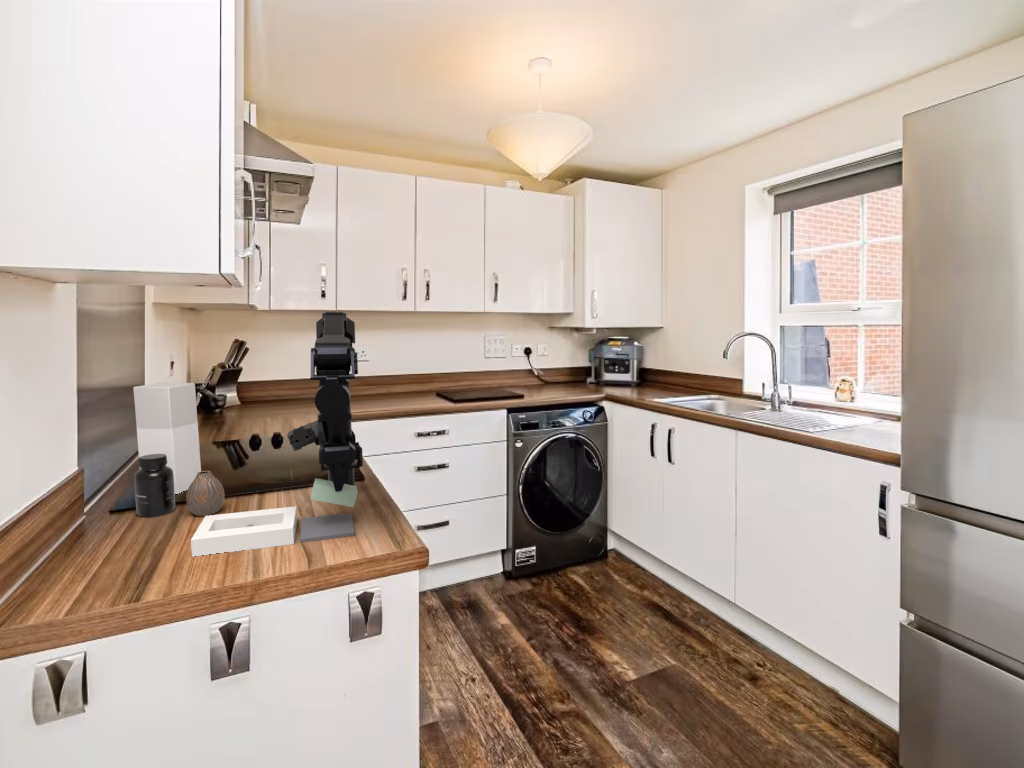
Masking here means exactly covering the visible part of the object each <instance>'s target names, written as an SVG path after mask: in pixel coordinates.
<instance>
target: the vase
mask: <svg viewBox="0 0 1024 768" xmlns="http://www.w3.org/2000/svg"><path fill="white" fill-rule="evenodd" d="M185 497H186V498H185V501H186V502H185V503H186V506H187V508H188V510H189V511H190V512H191V514H193V515H195V516H196V517H205V516H208V515H212V514H213V515H216V514H217V513H218V512H219V511H220V510H221V509H222V507H223V505H224V502H225V489H224V487H223V484H222V482H221V481H220V480H219V479H218V478H216V477H215V476H214V474H213V473H212V471H210V470H201V472H198V473H197V475H196V477H195V479H194V480H193V482H192V483H191V484H190V486H189V487H188V490H187V491H186V496H185Z"/></svg>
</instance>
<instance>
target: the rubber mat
mask: <svg viewBox="0 0 1024 768" xmlns="http://www.w3.org/2000/svg"><path fill="white" fill-rule="evenodd" d="M300 524H301V525H300V526H301V528H300V534H299V543H305V542H313V541H320V540H329V539H330V540H331V539H337V538H346V537H353V536H355V527H354V525H355V524H354V519H353V513H352V512H346V513H339V514H338V513H336V514H327V515H320V516H319V515H318V516H311V517H303V518H301V523H300Z"/></svg>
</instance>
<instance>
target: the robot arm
mask: <svg viewBox="0 0 1024 768" xmlns="http://www.w3.org/2000/svg"><path fill="white" fill-rule="evenodd" d="M315 325H316V326H315V328H316V330H315V332H316V333H315V336H316V337H315V338H316V339H315V341H314V342H315V343H314V347H310V381H319V383H318V384H317V387H318V389H317V391H316V394H315V396H314V403H315V407H316V409H317V411H318V412H319V413H318V414H317V420H315V421H312V422H309V423H307V424H304V425H300V426H299V427H296V428H293V429H292V430H289V431H288V432H287V435H286V437H287V438H288V441H289V444H290V445H291V448H292V449H293V451H294V452H296V451H299V450H301V449H302V448H304V447H307V446H309V445H311V444H314V443H316V442H318V445H319V449H318V464H319V465H320V470H321V472H325V471H327V474H328V476H327V477H328V478H327V479H328V480H327V481H332V482H333V484H334V488H335V491H336V492H339V491H342V488H343V486H344V484H348V485H353V486H356V485H355V469H360V468H362V467H363V465H364V462H363V461H364V460H363V458H364V457H363V447H361V444H360V442H359V441H356V438H357V437H356V434H355V432H354V431H353V428H352V420H353V418H352V407H351V406H352V405H351V402H352V401H351V383H350V381H349V380H355V378H356V375H359V365H358V362H359V361H358V353H357V352H356V349H355V347H354V346H353V344H356V325H355V322H354V321H353V320H352V319H351V318H349V317H347V313H346V312H344V311H325V312H322V317H321V318H320V319H318V320H317V321H316V322H315ZM350 372H351V373H350Z"/></svg>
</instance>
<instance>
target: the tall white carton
mask: <svg viewBox="0 0 1024 768" xmlns="http://www.w3.org/2000/svg"><path fill="white" fill-rule="evenodd" d="M196 397H197V396H196V384H195V383H194V382H157V383H151V384H144V385H138V386H137V385H136V386H133V398H134V409H135V410H134V412H135V425H136V437H137V449H138V450H137V451H138V459H139V458H140V457H142V456H145V455H150V454H166V456H167V464H166V466H168V467H170V468H171V469H172V470H173V476H174V492H175V494H178V495H180V494H182V493H184V492H183V491H185V492H187V491H186V490H188V487H189V486H190V484H191V483H192V482H193V480H194V479H195V477H196V475H197V473H198V472H201V471H202V465H201V453H200V449H201V448H200V437H199V435H200V434H199V424H198V423H199V422H198V409H197V398H196ZM140 469H141V467H139V470H140ZM181 492H182V493H181ZM179 493H180V494H179Z"/></svg>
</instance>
